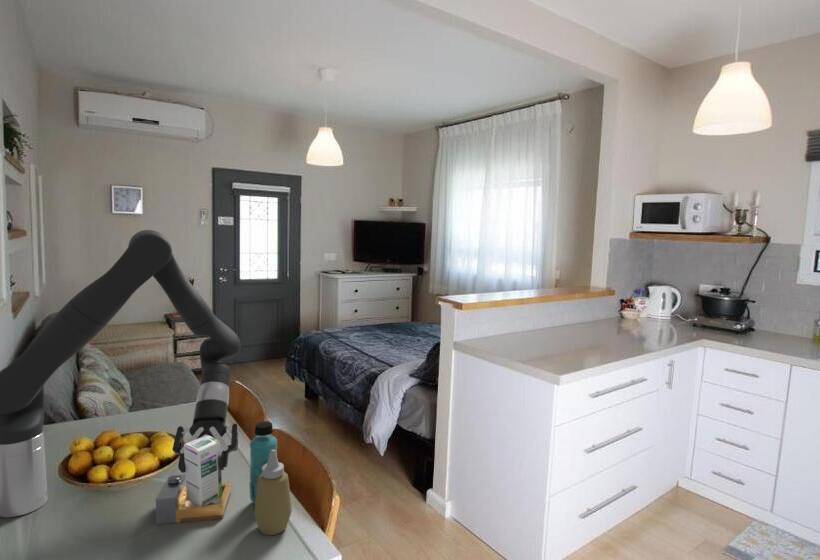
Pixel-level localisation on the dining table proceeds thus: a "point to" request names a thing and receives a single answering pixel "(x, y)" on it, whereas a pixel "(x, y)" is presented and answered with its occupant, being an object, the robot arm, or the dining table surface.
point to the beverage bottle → (260, 453)
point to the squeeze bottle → (272, 497)
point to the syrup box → (203, 470)
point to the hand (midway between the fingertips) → (202, 470)
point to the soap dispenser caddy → (187, 503)
